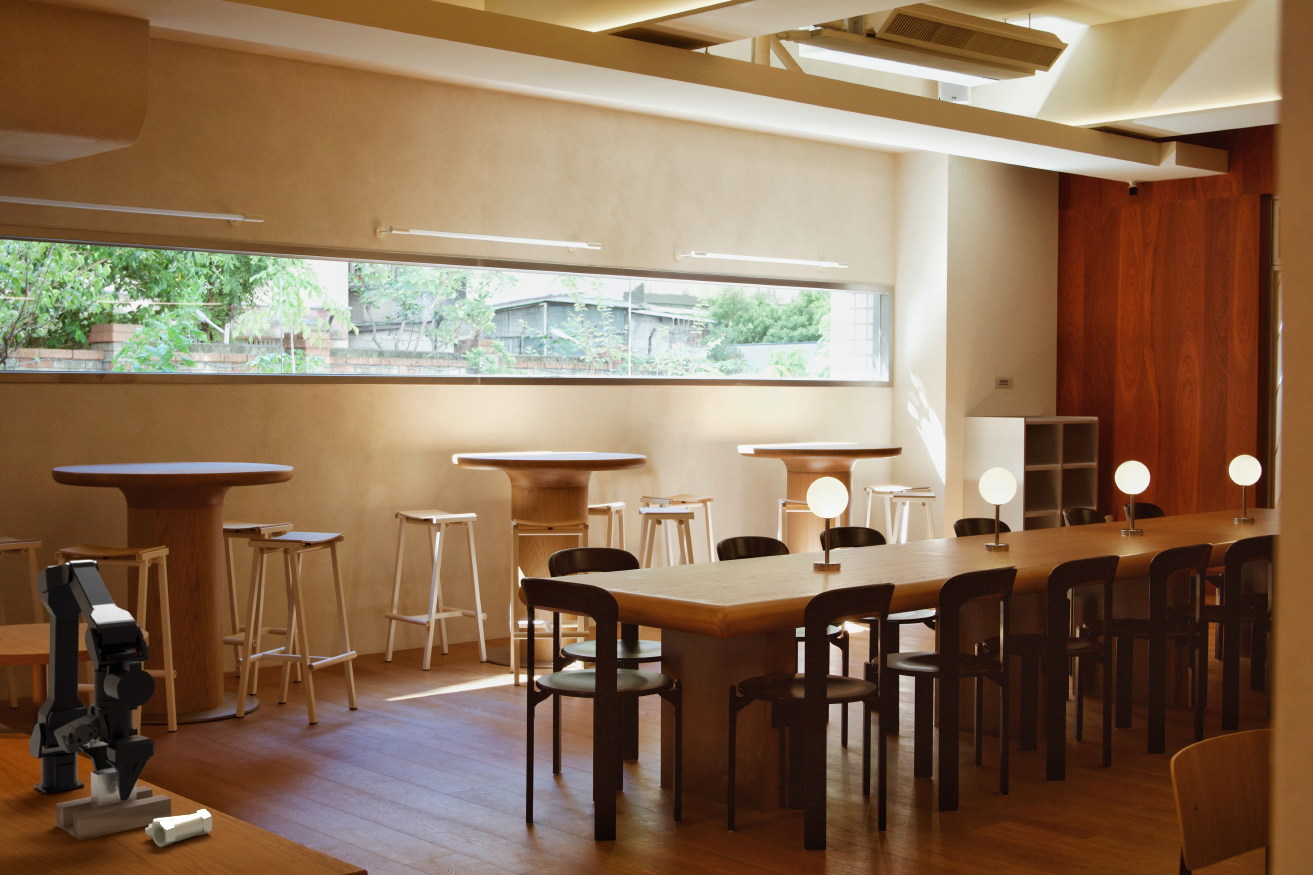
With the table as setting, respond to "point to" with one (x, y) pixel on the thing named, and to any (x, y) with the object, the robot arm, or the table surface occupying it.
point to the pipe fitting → (179, 827)
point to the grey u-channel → (111, 815)
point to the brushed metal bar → (107, 789)
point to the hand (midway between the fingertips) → (114, 794)
